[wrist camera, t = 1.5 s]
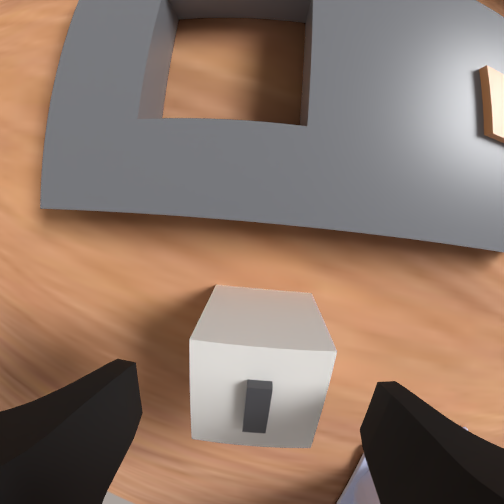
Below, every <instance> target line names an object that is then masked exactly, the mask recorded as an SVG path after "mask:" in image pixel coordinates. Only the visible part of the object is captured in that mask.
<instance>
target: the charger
mask: <svg viewBox="0 0 504 504" xmlns="http://www.w3.org/2000/svg"><path fill="white" fill-rule="evenodd" d="M189 352H190V408H191V434H192V439H197V440H203V441H210V442H218V443H226V444H236V445H247V446H260V447H280V448H311V445H312V442H313V438H314V435H315V432H316V429H317V425H318V422H319V419H320V415H321V412H322V408H323V405H324V401H325V397H326V394H327V390H328V386H329V382H330V378H331V375H332V370H333V366H334V362H335V358H336V354H337V350H336V348H335V345H334V343H333V341H332V338H331V336H330V334H329V332H328V329H327V327H326V325H325V322H324V320H323V318H322V315H321V313H320V311H319V309H318V306H317V304H316V302H315V300H314V297H313V295H312V293H305V292H293V291H281V290H269V289H258V288H247V287H236V286H226V285H216V286H215V288H214V290H213V292H212V294H211V296H210V298H209V300H208V302H207V304H206V306H205V308H204V310H203V312H202V315H201V317H200V319H199V321H198V323H197V325H196V327H195V329H194V331H193V333H192V335H191V337H190V340H189Z"/></svg>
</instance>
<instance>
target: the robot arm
mask: <svg viewBox="0 0 504 504" xmlns="http://www.w3.org/2000/svg"><path fill="white" fill-rule="evenodd" d="M141 415H142V406H141V400H140V393H139V385H138V377H137V369H136V363H135V362H130V361H126V360H121V359H116V360H114V361H112V362H110V363H108V364H106V365H104V366H103V367H101V368H99V369H97V370H95V371H93V372H92V373H90V374H88V375H86V376H84V377H82V378H81V379H79V380H77V381H75V382H73V383H71V384H69V385H67V386H65V387H63V388H61V389H59V390H57V391H55V392H53V393H50V394H48V395H46V396H44V397H42V398H39V399H37V400H35V401H32V402H29V403H27V404H24V405H21V406H18V407H15V408H12V409H8V410H5V411H1V412H0V504H102V502H103V499H104V497H105V495H106V492H107V490H108V488H109V486H110V484H111V482H112V480H113V478H114V476H115V474H116V472H117V470H118V468H119V466H120V465H121V463H122V461H123V459H124V457H125V455H126V453H127V451H128V449H129V447H130V445H131V443H132V441H133V439H134V436H135V433H136V430H137V428H138V425H139V422H140V419H141ZM360 433H361V439H362V445H363V450H364V453H363V455H362V457H361V459H360V461H359V463H358V465H357V467H356V469H355V471H354V473H353V475H352V476H351V478H350V480H349V482H348V484H347V486H346V487H345V489H344V491H343V493H342V495H341V496H340V498H339V500H338V501H337V503H336V504H504V448H501V447H499V446H497V445H494V444H492V443H490V442H488V441H486V440H484V439H482V438H480V437H478V436H476V435H474V434H472V433H471V432H469V431H468V429H467V428H466V427H461V426H459V425H458V424H456V423H454V422H453V421H451V420H450V419H448V418H447V417H445V416H444V415H442V414H441V413H440V412H438V411H437V410H435V409H434V408H433V407H431V406H430V405H428V404H427V403H426V402H424V401H423V400H422V399H420V398H419V397H417V396H416V395H415V394H413V393H412V392H410V391H409V390H408V389H406V388H405V387H403V386H402V385H400V384H399V383H397V382H395V381H390V382H377V385H376V388H375V391H374V394H373V397H372V399H371V402H370V405H369V408H368V410H367V413H366V415H365V418H364V420H363V423H362V425H361V428H360Z"/></svg>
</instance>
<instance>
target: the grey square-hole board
mask: <svg viewBox="0 0 504 504" xmlns="http://www.w3.org/2000/svg"><path fill="white" fill-rule="evenodd" d="M193 18H257V19H272V20H284V21H293V22H301V23H305V44H304V64H303V82H302V98H301V113H300V125H291V124H282V123H272V122H260V121H246V120H229V119H200V118H162V115H163V107H164V100H165V93H166V86H167V80H168V74H169V68H170V62H171V56H172V51H173V46H174V41H175V36H176V31H177V26H178V21H179V19H193ZM40 209H66V210H88V211H108V212H126V213H143V214H158V215H173V216H187V217H200V218H213V219H226V220H237V221H249V222H260V223H271V224H282V225H292V226H302V227H312V228H321V229H331V230H340V231H349V232H357V233H366V234H375V235H383V236H391V237H399V238H407V239H415V240H422V241H430V242H437V243H444V244H451V245H458V246H465V247H472V248H479V249H485V250H492V251H498V252H504V17H503V16H501V15H500V14H498V13H496V12H495V11H493V10H492V9H490V8H488V7H487V6H485V5H483V4H481V3H480V2H478V1H476V0H79V1H78V4H77V7H76V9H75V12H74V15H73V18H72V21H71V24H70V27H69V30H68V33H67V36H66V39H65V43H64V46H63V50H62V53H61V57H60V61H59V65H58V69H57V73H56V77H55V82H54V86H53V91H52V96H51V102H50V107H49V113H48V120H47V126H46V134H45V142H44V152H43V163H42V177H41V205H40Z"/></svg>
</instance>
